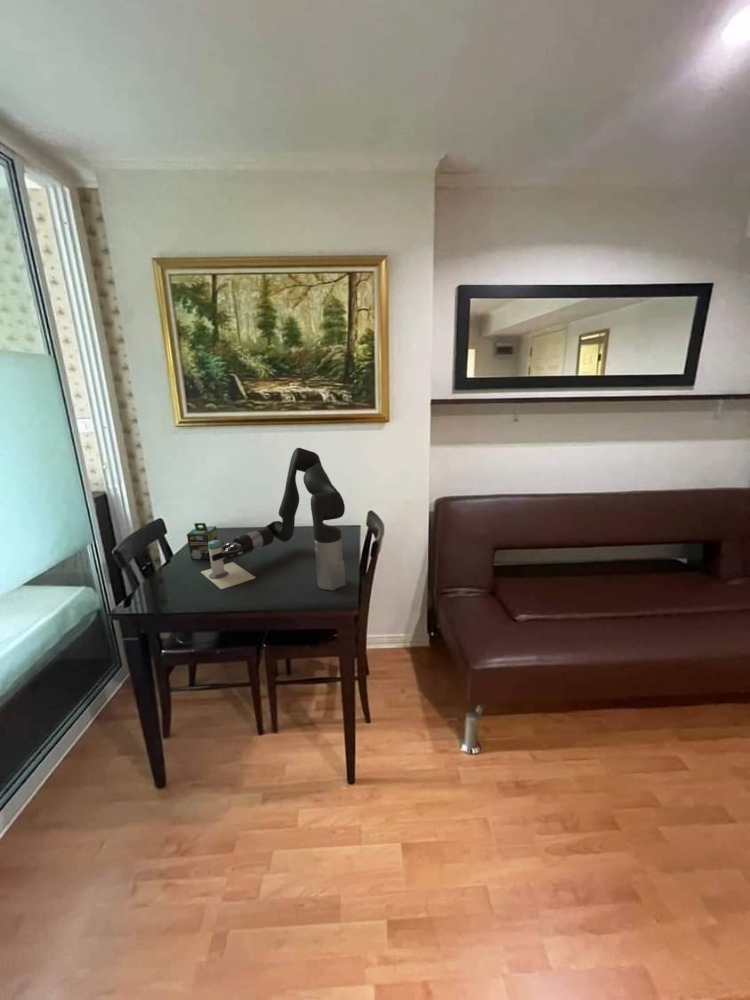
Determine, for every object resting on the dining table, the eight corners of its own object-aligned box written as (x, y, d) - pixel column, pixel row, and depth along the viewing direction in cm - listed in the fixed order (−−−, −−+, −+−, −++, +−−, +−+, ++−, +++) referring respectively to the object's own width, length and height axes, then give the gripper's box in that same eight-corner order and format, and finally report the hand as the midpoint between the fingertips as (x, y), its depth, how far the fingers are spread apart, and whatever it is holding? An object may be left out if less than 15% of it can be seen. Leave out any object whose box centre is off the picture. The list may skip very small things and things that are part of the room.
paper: (255, 578, 162) (255, 577, 162) (221, 589, 154) (221, 588, 154) (232, 562, 177) (232, 561, 176) (200, 572, 168) (200, 571, 168)
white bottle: (226, 572, 164) (222, 542, 161) (214, 575, 162) (210, 545, 158) (221, 568, 168) (217, 539, 164) (210, 572, 165) (205, 542, 162)
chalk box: (220, 551, 189) (216, 518, 185) (211, 559, 180) (206, 525, 176) (200, 551, 190) (195, 518, 186) (190, 559, 181) (184, 525, 177)
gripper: (236, 530, 177) (197, 543, 164) (258, 537, 168) (218, 551, 155) (239, 548, 179) (200, 562, 166) (260, 555, 170) (221, 571, 157)
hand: (209, 557), depth 161 cm, fingers closed on white bottle, 4 cm apart
